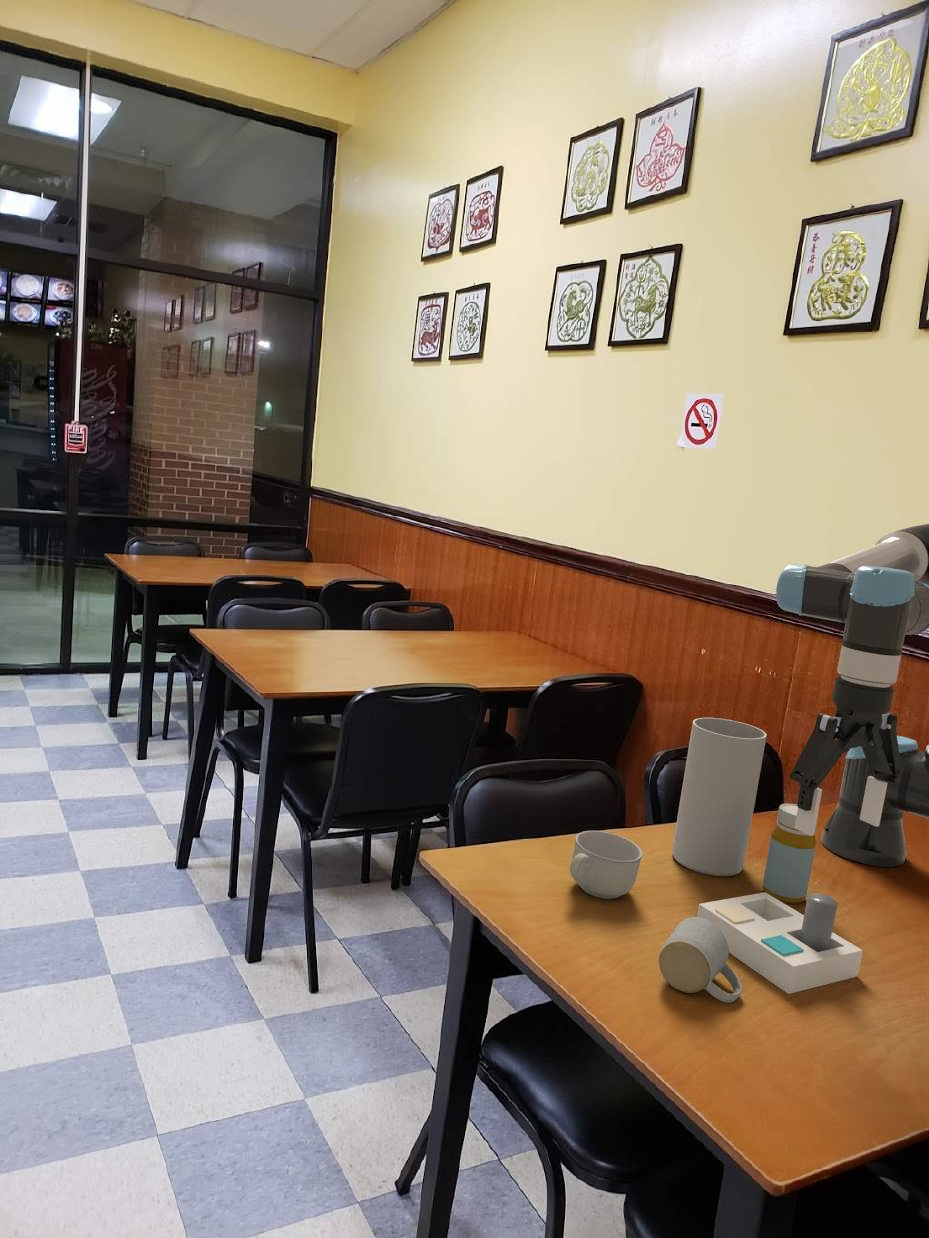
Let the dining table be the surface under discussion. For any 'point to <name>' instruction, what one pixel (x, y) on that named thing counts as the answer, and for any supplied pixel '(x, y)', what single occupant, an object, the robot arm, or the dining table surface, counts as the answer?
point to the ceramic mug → (698, 959)
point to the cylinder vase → (718, 796)
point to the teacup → (605, 863)
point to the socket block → (779, 943)
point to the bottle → (789, 858)
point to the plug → (818, 921)
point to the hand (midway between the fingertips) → (837, 827)
